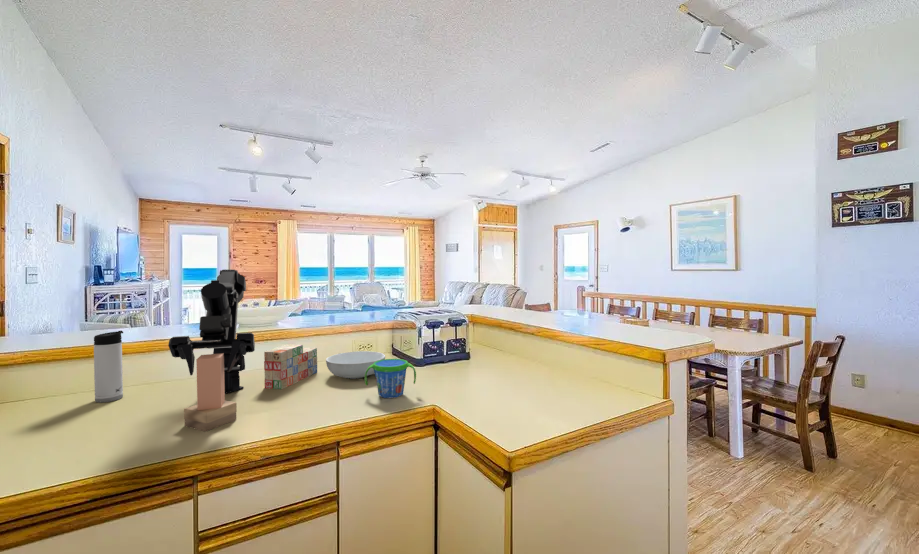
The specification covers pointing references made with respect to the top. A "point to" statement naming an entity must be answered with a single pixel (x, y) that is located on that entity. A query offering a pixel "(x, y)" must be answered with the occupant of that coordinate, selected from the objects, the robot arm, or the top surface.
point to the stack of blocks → (288, 365)
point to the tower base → (210, 423)
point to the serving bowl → (353, 363)
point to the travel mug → (108, 367)
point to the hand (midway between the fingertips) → (209, 372)
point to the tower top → (210, 412)
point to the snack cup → (390, 376)
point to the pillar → (210, 381)
